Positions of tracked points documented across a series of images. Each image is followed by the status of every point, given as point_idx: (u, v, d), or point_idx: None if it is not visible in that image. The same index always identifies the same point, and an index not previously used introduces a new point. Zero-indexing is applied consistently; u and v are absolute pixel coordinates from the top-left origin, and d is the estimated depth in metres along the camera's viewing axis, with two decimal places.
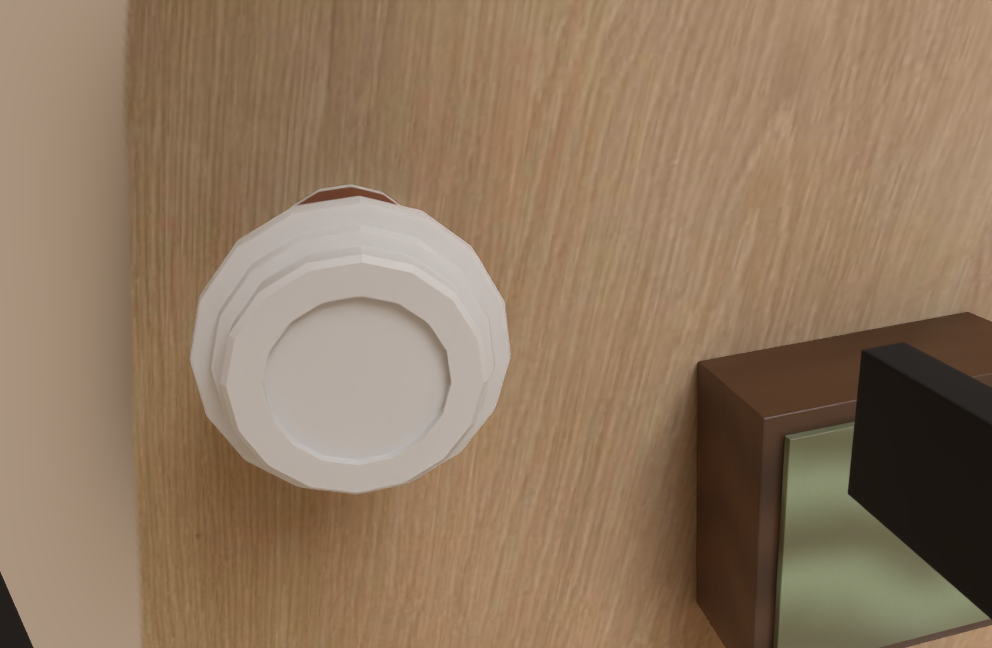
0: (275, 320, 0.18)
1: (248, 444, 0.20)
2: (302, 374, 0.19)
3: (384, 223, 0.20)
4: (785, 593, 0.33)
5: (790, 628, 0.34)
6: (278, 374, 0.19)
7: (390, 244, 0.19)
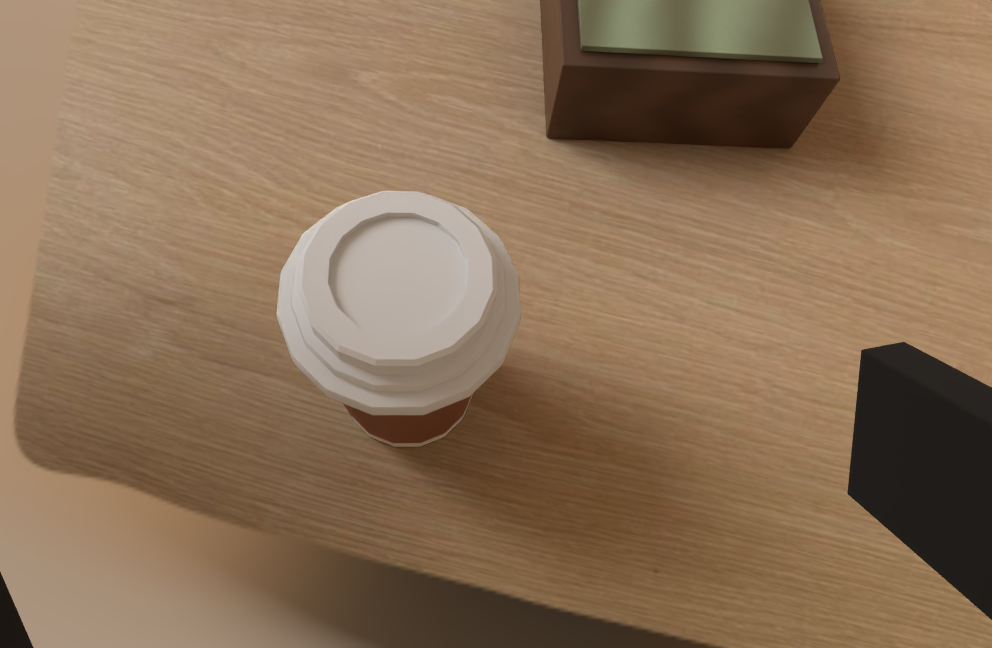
0: (332, 315, 0.25)
1: (430, 356, 0.25)
2: (384, 311, 0.25)
3: (299, 256, 0.27)
4: (733, 50, 0.39)
5: (772, 46, 0.39)
6: (380, 327, 0.25)
7: None
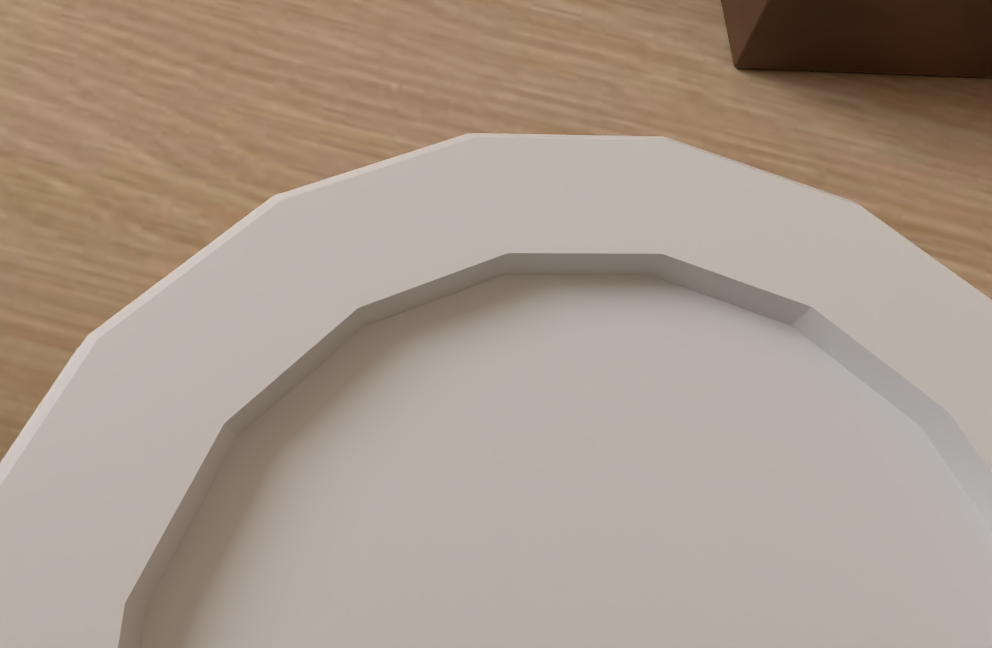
0: None
1: None
2: None
3: None
4: None
5: None
6: None
7: None
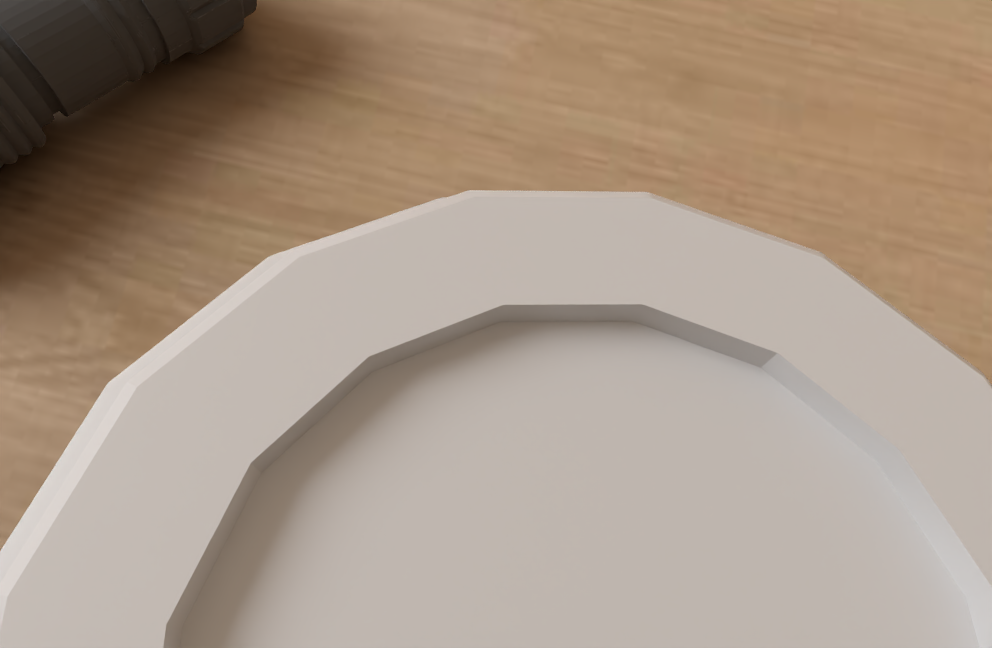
0: None
1: None
2: None
3: None
4: None
5: None
6: None
7: None
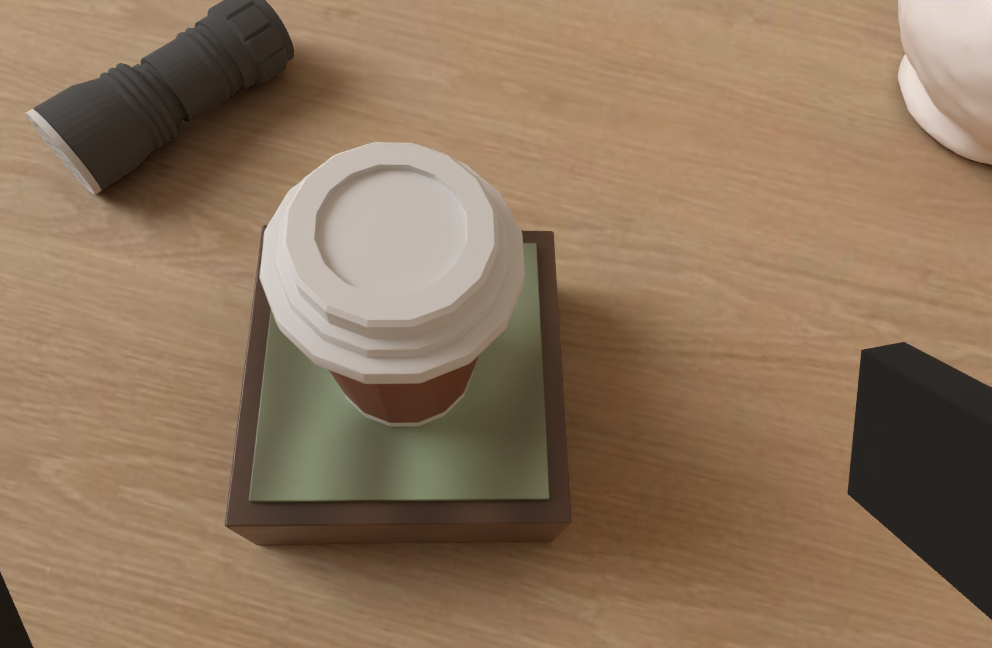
0: (319, 273, 0.23)
1: (427, 316, 0.23)
2: (376, 269, 0.23)
3: (284, 215, 0.25)
4: (438, 494, 0.32)
5: (488, 485, 0.32)
6: (372, 286, 0.23)
7: None
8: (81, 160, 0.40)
